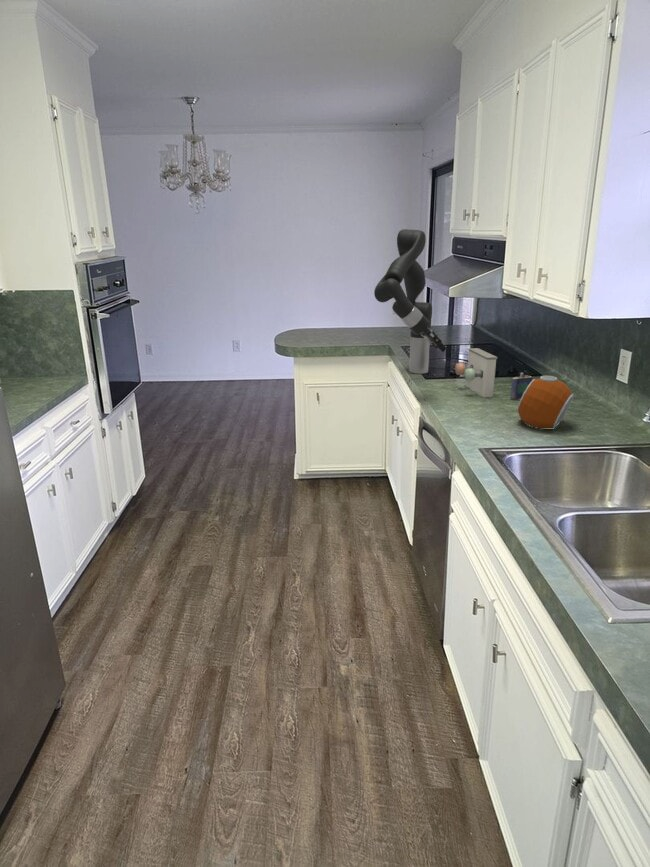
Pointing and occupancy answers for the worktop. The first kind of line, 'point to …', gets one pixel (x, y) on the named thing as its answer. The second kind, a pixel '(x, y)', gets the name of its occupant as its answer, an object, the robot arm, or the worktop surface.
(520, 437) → the worktop surface
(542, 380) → the alarm clock
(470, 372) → the sage button
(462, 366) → the terracotta button
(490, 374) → the panel
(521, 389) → the flask
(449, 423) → the worktop surface
